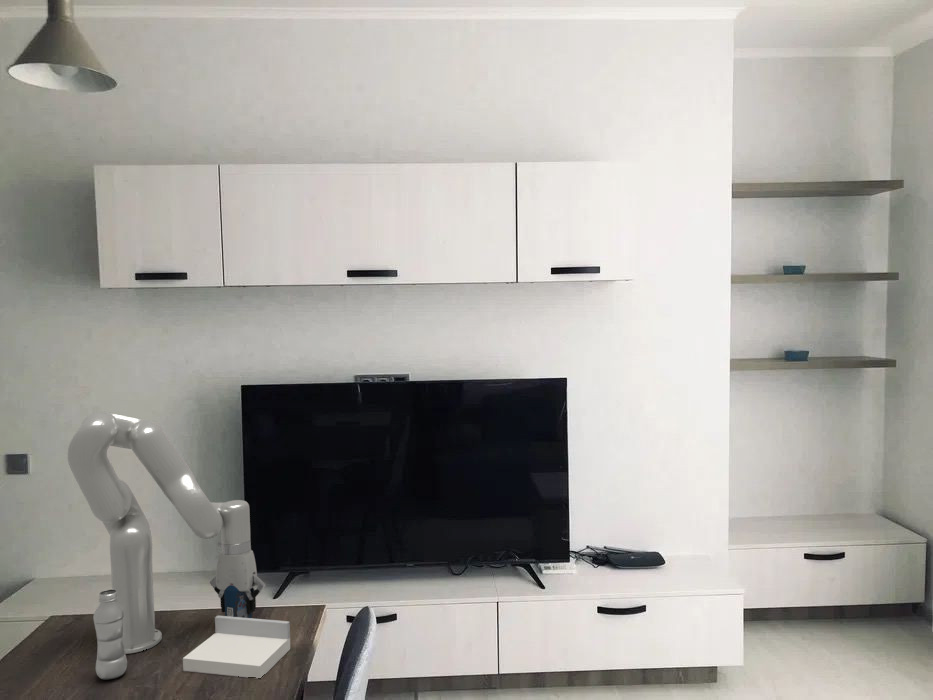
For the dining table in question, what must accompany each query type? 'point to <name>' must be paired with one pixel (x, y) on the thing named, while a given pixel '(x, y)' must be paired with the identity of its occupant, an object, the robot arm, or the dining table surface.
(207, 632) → the dining table surface
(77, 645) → the dining table surface
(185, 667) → the shelf
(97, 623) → the plastic bottle
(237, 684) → the dining table surface
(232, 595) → the soda can
